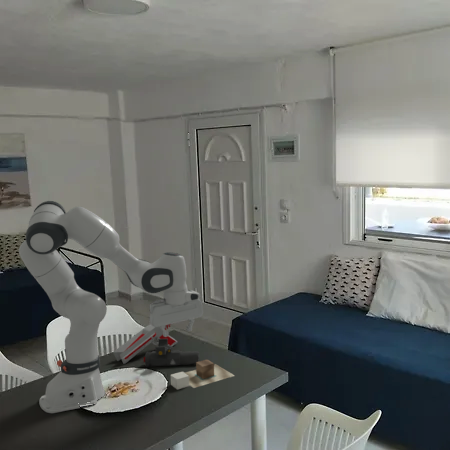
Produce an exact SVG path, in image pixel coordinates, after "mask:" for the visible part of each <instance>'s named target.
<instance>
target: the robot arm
mask: <svg viewBox="0 0 450 450" xmlns="http://www.w3.org/2000/svg"><path fill="white" fill-rule="evenodd" d="M120 238H121V237H120V235H119V233H118V232H117V231H116V230H115V228H114V227H113V226H111V225H110V223H108V222H107V221H105V220H104V219H103V218H102V217H100V216H99V215H97V214H96V213H95V212H93V211H91V210H89V209H87V208H86V207H83V206H75V207H73V208H70V209H69V210H68V211H67V212H66V210H65V207H64V206H63V205H62V204H60V203H59V202H57V201H53V200H46V201H44V202H41V203H39V204H38V205H37V206H36V208H34V210H33V213H32V215H31V217H30V219H29V221H28V226H27V230H26V232H25V240H24V241H23V242H21V244H20V246H19V247H18V248H19V249H18V253H19V257H20V259H21V260H22V262H23V264H24V265H25V268H27V270H28V272H29V273H30V275H31V276H32V277H33V278H34V279H35V280H36V281H37V283H38V284H39V285H40V287H41V288H42V289H43V290H44V292H45V293H46V295H47V296H48V298H49V300H50V302H51V306H52V308H53V310H54V311H55V312H56V313H58V315H60V316H61V317H63V318H65V319H68V320H69V321H70V323H69V324H70V326H69V330H68V334H67V335H66V336H65V338H64V348H65V360H64V361H62V360H61V359H58V360H57V362H56V365H57V367H59V368H60V371H59V372H58V373H57V375H55V376H54V377H53V378H52V379H51V380H50V381H48V383H47V385H46V387H45V394H44V395H41V397H40V398H39V401H38V402H39V403H38V404H39V406H40V408H41V410H43V411H44V412H45V413H48V414H56V413H61V412H65V411H70V410H75V409H81V408H80V407H79V406H80V405H86V404H94V403H96V402H98V401H99V400H100V399H102V398H103V397H104V396H105V394H106V392H105V388H104V385H103V382H102V377H101V372H100V371H101V359H100V355H99V350H98V348H99V347H98V333H99V332H98V331H99V327H100V324H101V322H102V321H103V320H104V319H105V317H106V314H107V311H108V310H107V309H108V307H107V304H106V302H105V300H104V299H102V298H101V297H100V296H99V295H97V294H95V293H93V292H90V291H88V290H84V289H82V288H81V287H80V286H79V285H78V284H77V282H76V279H75V273H74V271H73V270H72V268H71V267H70V266H69V264H68V263H67V261H66V260H65V259H64V257H63V256H62V255H61V254H60V253H59V251H58V249H59V248H61V247H63V246H65V245H66V244H68V240H73V241H75V242H76V243H78V244H79V245H80V246H81V247H82V248H84V249H85V250H86V251H88V252H89V253H92V254H93V255H95V256H97V257H98V258H103V259H108V260H109V261H111V262H112V263H113V264H115V265H116V266H117V267H118V268H120V269H121V270H122V271H123V272H124V273H125V275H126V276H127V279H128V280H129V282H130V283H131V284H132V285H133V286H135V287H137V288H140V289H141V290H143V291H145V292H147V293H150V294H158V293H161V292H162V296H163V298H162V299H158V300H153V301H152V302H151V303H150V304H149V306H148V307H149V324H151V325H152V326H153V327H159V326H160V328H161V330H162V331H163V336H164V337H167V336H170V335H169V334H170V333H169V331H168V329H167V328H166V327H165V325H168V324H170V325H172V324H177V323H181V322H184V321H189V322H188V325H186V326H185V327H186V331H187V332H192V331H193V325H194V323H195V321H196V320H195V319H198V318H202V317H203V315H204V305H203V302H202V300H201V293H199V292H198V291H195V290H192V289H188V285H187V277H188V276H187V275H188V271H187V266H186V259H185V256H183V255H182V254H181V253H177V252H164V253H162V255H161V256H160V257H159V258H158V259H156V260H155V261H154V262H150V261H148V260H146V259H142V258H141V259H140V258H137V257H135V256H134V255H133V254H132V253H131V252H129V250H127V249H126V248H125V247H123V246H122V245H121V243H120ZM164 328H166V330H165V329H164ZM101 397H102V398H101ZM98 399H99V400H98ZM97 400H98V401H97ZM87 402H90V403H87ZM78 403H79V404H78ZM96 404H97V403H96Z"/></svg>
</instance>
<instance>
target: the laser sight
mask: <svg viewBox="0 0 450 450" xmlns="http://www.w3.org/2000/svg"><path fill="white" fill-rule="evenodd" d="M158 341H159V344H157V346H155V350H152V351H146V352H145V356H143V363H144V364H145V367H146V368H149V367H152V368H153V367H169V366H171V367H173V366H176V367H178V366H189V365H191V366H192V365H195V366H196V362H199V361H200V351H199V350H195V351H193V350H192V351H184V350H183V351H181V349H178V350H177V349H174V350H173V346H172V347H169V346H168V339H159V340H158Z"/></svg>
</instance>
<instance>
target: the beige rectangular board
mask: <svg viewBox="0 0 450 450" xmlns="http://www.w3.org/2000/svg"><path fill="white" fill-rule="evenodd" d="M184 373H185V374H187V375H188V376H189V387H192V388H193V389H195V388H198V387H202V386H205V385H208V384H212V383H215V382H218V381H222V380H225V379H228V378H232V377H235V375H234V374H233V373H231V372H230V371H228V370H226V369H224V368H223V367H222V366H220V365H218V364H216V363H214V376H212V377H209V378H205V379H202V378H201V377H199V376H198V375H197V374H196V369H194V370H189V371H186V372H184Z"/></svg>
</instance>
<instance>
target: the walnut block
mask: <svg viewBox="0 0 450 450" xmlns="http://www.w3.org/2000/svg"><path fill="white" fill-rule="evenodd" d="M214 365H215V363H214V362H212V361H210V360H209V359H203V360H199V362H196V365H195V368H196V369H195V370H196V374H197V375H198V376H199V377H201V378H202V379H205V378H209V377H212V376H214Z"/></svg>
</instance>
